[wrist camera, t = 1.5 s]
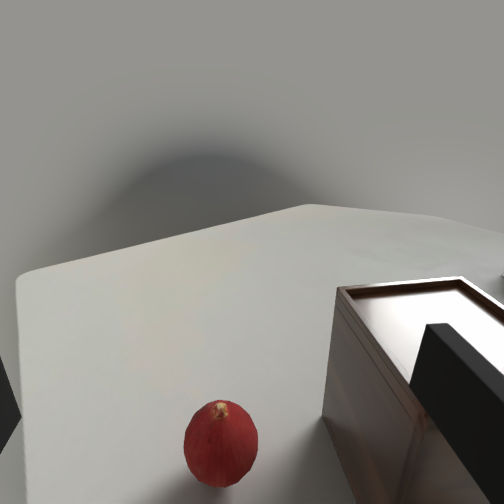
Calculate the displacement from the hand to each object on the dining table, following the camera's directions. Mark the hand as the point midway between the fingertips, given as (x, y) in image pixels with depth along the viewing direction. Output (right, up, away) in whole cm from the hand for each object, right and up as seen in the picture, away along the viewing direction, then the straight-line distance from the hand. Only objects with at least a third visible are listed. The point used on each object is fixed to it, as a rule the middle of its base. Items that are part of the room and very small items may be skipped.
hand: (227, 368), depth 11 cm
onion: (-2, -15, +18) cm, 23 cm away
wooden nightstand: (+14, -14, +18) cm, 27 cm away
